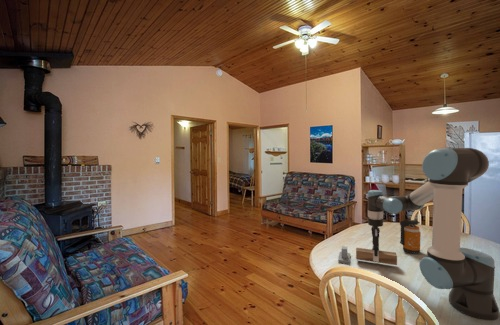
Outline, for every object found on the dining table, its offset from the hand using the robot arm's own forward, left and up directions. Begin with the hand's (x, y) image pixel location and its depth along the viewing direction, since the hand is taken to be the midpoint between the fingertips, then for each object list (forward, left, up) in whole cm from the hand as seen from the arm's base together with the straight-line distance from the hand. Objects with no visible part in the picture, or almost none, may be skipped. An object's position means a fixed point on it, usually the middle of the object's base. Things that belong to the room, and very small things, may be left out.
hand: (375, 259), depth 137 cm
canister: (+26, -20, -3) cm, 33 cm away
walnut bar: (0, 0, -1) cm, 1 cm away
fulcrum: (+1, +16, -3) cm, 17 cm away
